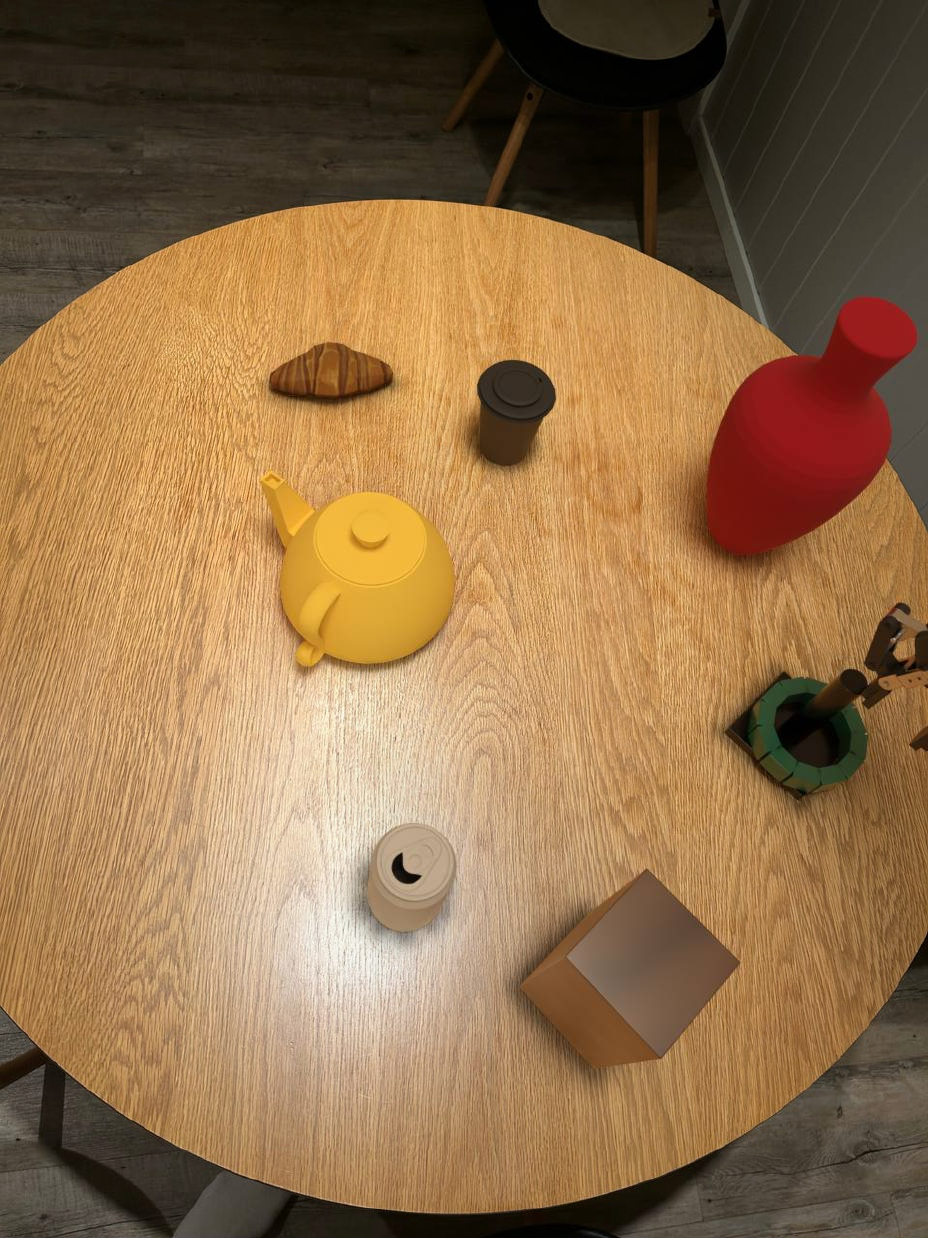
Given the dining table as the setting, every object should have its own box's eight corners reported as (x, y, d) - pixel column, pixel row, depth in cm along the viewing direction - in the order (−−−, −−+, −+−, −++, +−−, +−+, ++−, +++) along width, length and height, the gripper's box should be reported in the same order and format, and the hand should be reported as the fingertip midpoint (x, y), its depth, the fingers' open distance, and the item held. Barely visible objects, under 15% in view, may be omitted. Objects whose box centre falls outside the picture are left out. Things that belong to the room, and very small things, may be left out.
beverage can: (351, 889, 79) (353, 855, 68) (409, 840, 81) (420, 800, 71) (400, 950, 77) (409, 925, 66) (458, 898, 79) (476, 866, 69)
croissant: (387, 357, 106) (389, 324, 101) (397, 404, 103) (399, 373, 99) (266, 365, 103) (263, 332, 99) (272, 413, 100) (269, 381, 96)
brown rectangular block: (659, 991, 78) (741, 962, 62) (592, 1069, 74) (661, 1059, 59) (586, 915, 80) (647, 867, 64) (518, 987, 77) (564, 956, 61)
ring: (875, 743, 89) (888, 735, 87) (812, 814, 85) (824, 807, 83) (791, 667, 92) (802, 657, 90) (726, 732, 88) (736, 723, 86)
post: (851, 740, 91) (926, 686, 79) (797, 800, 87) (868, 753, 75) (778, 675, 93) (841, 614, 81) (724, 732, 89) (781, 676, 78)
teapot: (483, 581, 94) (502, 509, 83) (372, 724, 86) (377, 667, 74) (322, 480, 97) (319, 398, 86) (201, 608, 89) (180, 537, 78)
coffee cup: (555, 448, 103) (575, 386, 94) (505, 489, 99) (521, 429, 91) (501, 404, 105) (515, 340, 96) (450, 443, 101) (461, 380, 93)
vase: (773, 465, 105) (918, 250, 79) (826, 577, 99) (1003, 385, 72) (652, 482, 102) (761, 265, 76) (699, 600, 96) (835, 408, 69)
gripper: (910, 588, 63) (800, 688, 78) (1094, 738, 59) (941, 813, 74) (967, 527, 66) (850, 635, 81) (1145, 667, 62) (988, 753, 77)
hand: (894, 720), depth 78 cm, fingers open, 4 cm apart
